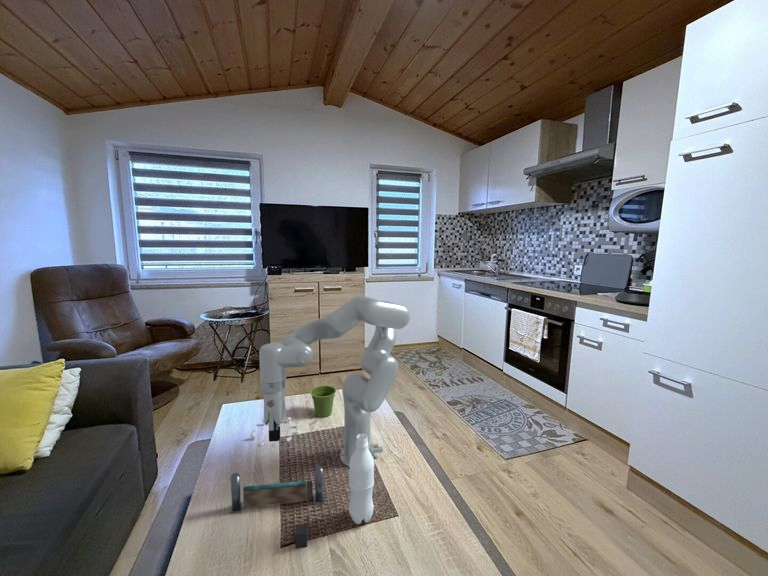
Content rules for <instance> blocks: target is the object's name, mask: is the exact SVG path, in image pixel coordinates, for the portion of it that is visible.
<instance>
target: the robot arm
mask: <svg viewBox="0 0 768 576" xmlns="http://www.w3.org/2000/svg"><path fill="white" fill-rule="evenodd" d="M410 319H411V314H410V311H409V310H408V308H406V306H404V305H401V304H398V303H394V302H390V301H386V300H378V299H376V298H371V297H370V296H369V297H368V296H364V295H358V296H355V297H353V298H351V299H350V300H348V301H347V302H345V303H344V304H342V305H341V306H339V307H338V308H337V309H335V310H334V311H332V312H330V313H329V314H328V315H326V316H324V317H320V318H318V319H316V320H313V321H310V322H307V323H305V324H303V325H301V326H299V327H298V328H296V329H295V330H293V331H291V332H290V333H289V334H288V335H286V336H285V337H284V338H283V339H282V340H281V342H280V343H278V342H271V343H270V342H269V343H266V344H263V345H261V347H260V348H259V350H258V351H259V353H258V354H259V356H258V357H259V384H260V387H259V388H260V390H259V391H260V392H261V393H262V394H263V416H264V417H263V419H264V423H265V425H264V426H268V442H269V443H270V442H271V443H272V442H275V441H276V442H279V441H280V440H281V424H282V423H283V420H284V417H285V414H286V401H285V399H286V398H285V390H286V389H287V368H302V367H303V368H304V367H305V366H307V365H309V364H310V363H311V362H312V360H313V358H314V351H313V349H312V347H311V346H310V345H311V344H313V343H315V342H318V341H322V340H331V339H338V338H341V337H344V335H346V334H347V333H349V332H350V331H351V330H352V329H354V328H355V327H357V326H358V325H360V324H361V323H365V324H368V325H371V326H375V330H374V333H373V336H372V337H371V340H370V341H369V344H368V345H367V347H366V349H365V350H364V352H363V354H362V356H361V358H360V360H359V367H360V369H362V371H364V373H366V374H368V375H369V376H370V377H369V378H368V377H367V376H365V375H364V374H361V373H357V372H355V373H354V372H353V373H351V374H349V375H347V376H346V377H345V378H344V381H343V382H342V387H341V388H342V389H341V390H342V397H343V398H342V399H343V406H344V417H343V418H344V425H343V426H344V431H343V432H344V434H343V437H344V438H343V439H344V440H343V441H344V444H343V445H344V447H343V448H342V450H340V453H339V457H340V458H339V460H340V461H341V463H342V464H343V465H344V466H346V467H349V462H350V458H351V456H352V454H353V453H354V451H355V449H356V441H357V435H358V434H366V435H367V441H368V449H369V451H370V453H371V455H372V457H373V459H374V458H375V454H377V453H378V454H380V453H381V454H382V453H384V452H383V451H384V449H383V446H379V444H378V443H375V444H373V443H371V418H372V417H371V416H372V414H371V413H373V412H376V411H377V410H379V408H380V407H381V406H382V404H383V403H384V401H385V399H386V397H387V396H388V394H389V392H390V390H391V388H392V387H393V385H394V383H395V380H396V379H397V376H398V373H399V363H398V361H397V360H396V358H395V357H394V356H392V355H391V353H392V350H393V348H394V347H395V344H396V341H397V330H400V329H404V328H405V327H406V326H407V325H408V324H409V322H410Z"/></svg>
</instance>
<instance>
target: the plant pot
mask: <svg viewBox="0 0 768 576" xmlns="http://www.w3.org/2000/svg"><path fill="white" fill-rule="evenodd" d="M309 393H310V396H311V398H312V401H313V406H314V412H315V415H316V416H317V417H319V418H327V417H328V416H331V415H332V412H333V406H334V399H335V396H336V393H337V389H336V387H334V386H332V385H326V384H325V385H318V386H315V387H313V388H312V389H311V390H310V392H309Z"/></svg>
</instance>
